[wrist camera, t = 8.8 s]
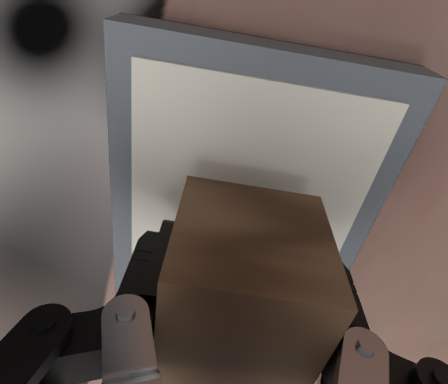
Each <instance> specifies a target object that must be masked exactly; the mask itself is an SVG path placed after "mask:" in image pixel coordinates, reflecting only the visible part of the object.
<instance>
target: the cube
mask: <svg viewBox="0 0 448 384" xmlns="http://www.w3.org/2000/svg"><path fill="white" fill-rule="evenodd" d="M357 313H358V308H357V305H356V302H355V299H354V296H353V293H352V290H351V287H350V284H349V281H348V278H347V275H346V272H345V269H344V266H343V263H342V260H341V257H340V254H339V251H338V248H337V245H336V242H335V238H334V235H333V232H332V229H331V226H330V223H329V220H328V217H327V214H326V211H325V208H324V205H323V202H322V199H321V197H319V196H313V195H307V194H300V193H294V192H288V191H282V190H275V189H269V188H263V187H257V186H250V185H244V184H238V183H232V182H225V181H219V180H213V179H207V178H200V177H194V176H188V175H187V179H186V182H185V186H184V190H183V193H182V197H181V200H180V204H179V208H178V211H177V215H176V218H175V222H174V225H173V229H172V233H171V236H170V240H169V243H168V247H167V251H166V254H165V258H164V261H163V265H162V268H161V272H160V276H159V279H158V286H157V302H156V317H155V333H154V347H155V354H156V361H157V367H158V370H159V371H160V373H161V378H162V384H314V383H315V382H316V380H317V378H318V377H319V375H320V373H321V372H322V370H323V369H324V367H325V365H326V364H327V362H328V360H329V359H330V357H331V355H332V354H333V352H334V350H335V349H336V347H337V345H338V344H339V342H340V341H341V339H342V337H343V336H344V334H345V332H346V331H347V329H348V327H349V326H350V324H351V322H352V321H353V319H354V318H355V316H356V314H357Z"/></svg>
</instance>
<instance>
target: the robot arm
mask: <svg viewBox="0 0 448 384" xmlns="http://www.w3.org/2000/svg"><path fill="white" fill-rule="evenodd" d="M174 222H175V221H171V220H165V219H164V220H163V222H162V225H161V228H160V231H159V232H154V231H148V230H147V231H146V232H145V233H144V234H143V235H142V236H141V237H140V238H139V239H138V241H137V244H136V246H135V249H134V251H133V254H132V256H131V260H130V261H129V264H128V266H127V269H126V271H125V274H124V277H123V279H122V282H121V284H120V287H119V289H118V292H117V294H116V296H115V297H114V298H113V299H111V300H110V301H109V302H108V303H107V304H106V305H105V306H103V307H101V308H99V309H96V310H91V311H85V312H79V313H72V314H71V312H70V311H69V309H68V308H66V307H65V306H63V305H60V304H45V305H41V306H38V307H37V308H34V309H32V310H31V311H30V312H29V313H27V314H26V315H25V316H24V317H23V318H22V319H21V320H20V321H19V322H18V323H17V324H16V325H15V326H14V327H13V328H12V329H11V331H9V333H8V334H7V335H6V336H5V337H4V338H3V339H2V340H1V341H0V384H78V383H83V382H87V381H92V380H97V379H102V384H162V378H161V373H160V371H159V370H158V367H157V361H156V354H155V347H154V333H155V317H156V302H157V286H158V279H159V276H160V272H161V268H162V265H163V261H164V258H165V254H166V251H167V247H168V243H169V240H170V236H171V233H172V229H173V225H174ZM342 263H343V262H342ZM343 266H344V269H345V272H346V275H347V278H348V281H349V284H350V287H351V290H352V293H353V296H354V299H355V302H356V305H357V308H358V313H357V314H356V316H355V318H354V319H353V321H352V322H351V324H350V326H349V327H348V329H347V331H346V332H345V334H344V336H343V337H342V339H341V341H340V342H339V344H338V345H337V347H336V349H335V350H334V352H333V354H332V355H331V357H330V359H329V360H328V362H327V364H326V365H325V367H324V369H323V370H322V372H321V374H320V375H319V377H318V380H317V384H448V365H447V364H446V363H444V362H442V361H440V360H438V359H435V358H431V357H425V358H422V359H420V360H419V361H418V363H417V364H416V363H414V362H411V361H409V360H407V359H405V358H402V357H400V356H398V355H396V354H393V353H391V352H390V351H388V349H387V347H386V345H385V344H384V342H383V341H382V340H381V339H380V338H379V337H378V336H377V335H376V334H375V333H373V332H372V331H370V329H369V326H368V323H367V320H366V317H365V314H364V312H363V309H362V306H361V303H360V300H359V297H358V294H356V292H357V291H356V288H355V286H354V285H353V280H352V277H351V274H350V271H349V270H348V268H347V267H346V266H345V265H344V263H343Z"/></svg>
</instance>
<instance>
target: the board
mask: <svg viewBox="0 0 448 384" xmlns="http://www.w3.org/2000/svg"><path fill="white" fill-rule="evenodd" d="M103 28H104V51H105V73H106V96H107V118H108V138H109V139H108V141H109V164H110V186H111V207H112V231H113V254H114V277H115V292H116V293H117V292H118V289H119V287H120V284H121V282H122V279H123V277H124V274H125V271H126V269H127V266H128V264H129V261H130V260H131V256H132V254H133V251H134V249H135V246H136V244H137V241H138V239H139V238H140V237H141V236H142V235H143V234H144V233H145V232H146V231H147V230H148V231H154V232H159V231H160V228H161V225H162V222H163V220H164V219H165V220H171V221H175V218H176V215H177V211H178V208H179V204H180V200H181V197H182V193H183V190H184V186H185V182H186V179H187V175H188V176H194V177H200V178H207V179H213V180H219V181H225V182H232V183H238V184H244V185H250V186H257V187H263V188H269V189H275V190H282V191H288V192H294V193H300V194H307V195H313V196H319V197H321V199H322V202H323V205H324V208H325V211H326V214H327V217H328V220H329V223H330V226H331V229H332V232H333V235H334V238H335V242H336V245H337V248H338V251H339V254H340V257H341V260H342V262H343V263H344V265H345V266H346V267H347V268H348V270H349V269H350V268H351V266H352V264H353V262H354V260H355V258H356V256H357V254H358V252H359V250H360V248H361V246H362V244H363V243H364V241H365V239H366V237H367V235H368V233H369V231H370V229H371V227H372V225H373V223H374V221H375V219H376V218H377V216H378V214H379V212H380V210H381V208H382V206H383V204H384V202H385V200H386V198H387V196H388V195H389V193H390V191H391V189H392V187H393V185H394V183H395V181H396V179H397V177H398V175H399V173H400V171H401V170H402V168H403V166H404V164H405V162H406V160H407V158H408V156H409V154H410V152H411V150H412V148H413V146H414V145H415V143H416V141H417V139H418V137H419V135H420V133H421V131H422V129H423V127H424V125H425V123H426V121H427V120H428V118H429V116H430V114H431V112H432V110H433V108H434V106H435V104H436V102H437V100H438V98H439V97H440V95H441V93H442V91H443V89H444V87H445V85H446V83H447V81H448V79H446V78H444V77H442V76H440V75H438V74H437V73H435V72H433V71H431V70H429V69H427V68H426V67H424V66H420V65H414V64H408V63H403V62H397V61H392V60H386V59H380V58H375V57H369V56H363V55H358V54H352V53H346V52H341V51H335V50H329V49H324V48H318V47H313V46H307V45H301V44H296V43H290V42H284V41H279V40H273V39H267V38H262V37H256V36H250V35H245V34H239V33H234V32H228V31H222V30H217V29H211V28H205V27H200V26H194V25H188V24H183V23H177V22H171V21H166V20H160V19H154V18H149V17H143V16H138V15H132V14H126V13H119V14H116V15H114V16H111V17H108V18H105V19H103Z"/></svg>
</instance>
